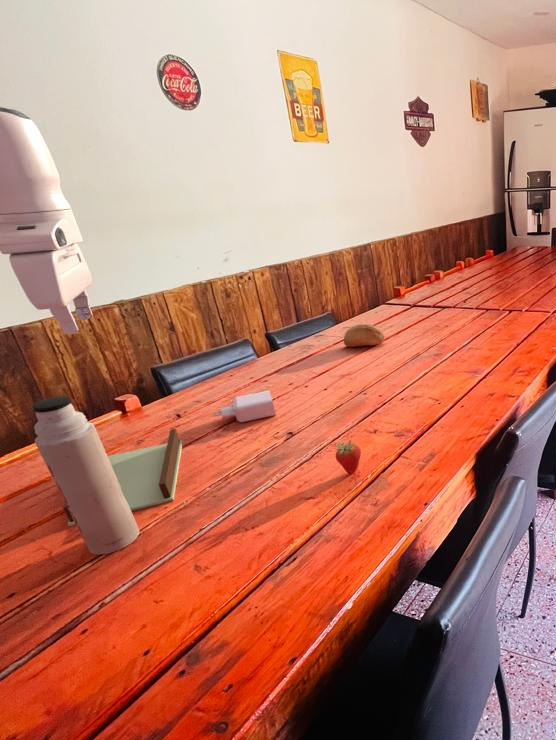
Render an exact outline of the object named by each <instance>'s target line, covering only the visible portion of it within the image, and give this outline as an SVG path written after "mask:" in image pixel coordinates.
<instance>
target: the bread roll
mask: <svg viewBox="0 0 556 740" xmlns="http://www.w3.org/2000/svg"><path fill="white" fill-rule="evenodd" d="M384 341H385V334H384V333H383V332H382V330H381V329H380V328H379V327H377V326H376V325H373V324H370V323H361V324H360V323H359V324H355V325H353V326H351V327H350V328H348V329H347V330H346V332H345V334H344V337H343V343H344V345H345V347H348V348H355V347H364V346H372V345H373V346H375V345H380V344H382V343H383V342H384Z"/></svg>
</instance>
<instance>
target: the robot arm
mask: <svg viewBox="0 0 556 740" xmlns="http://www.w3.org/2000/svg"><path fill="white" fill-rule="evenodd" d="M83 242H84V240H83V236H82V234H81V230H80V228H79V226H78V223H77V221H76V218H75V215H74V212H73V209H72V206H71V204H70V202H68V200H67V199H66V198H65V195H64V194H63V192H62V188H61V178H60V174H59V171H58V169H57V167H56V163H55V161H54V159H53V156H52V155H51V152H50V150H49V148H48V145H47V143H46V141H45V139H44V137H43V135H42V133H41V132H40V129H39V128H38V126H37V125H36V124H35V123H34V121H33V120H32V118H30V117H29V116H27V115H26V114H25V113H23V112H21V111H19V110H16V109H12V108H6V107H1V106H0V253H1V254H2V255H9V256H8V258H9V259H8V260H9V263H10V266H11V268H12V271H13V272H14V275H15V276H16V278H17V280H18V282H19V284H20V287H21V288H22V291H23V292H24V294H25V296H26V298H27V299H28V301H29V302H30V303H31V305H32V306H34V308H35V309H37V310H39V311H40V310H42V311H44V310H49V311H50V313H51V315H52V316H53V318H54V319H55V320H56V321H57V323H58V324H59V325H60V328H61V330H62V333H64V334H65V335H73V334H77V333H78V332H79V331H80V326H79V323H78V320H80V321H84V320H90V319H91V318H92V317H93V315H94V314H93V312H92V309H91V305H90V300H89V299H90V298H89V294H88V291H87V289H88V288H89V287H91V286H92V285H93V276H92V274H91V271H90V268H89V267H88V264H87V261H86V259H85V256H84V254H83V252H82V250H81V248H80V246H79V244H80V243H83ZM71 302H73V305H74V306H75V307H74V308H75V309H74V311H75V314H76V317H77V318H78V320H77V318H75V317H74V315H73V314H72V311H71V310H72V308H71V306H70V303H71Z"/></svg>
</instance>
